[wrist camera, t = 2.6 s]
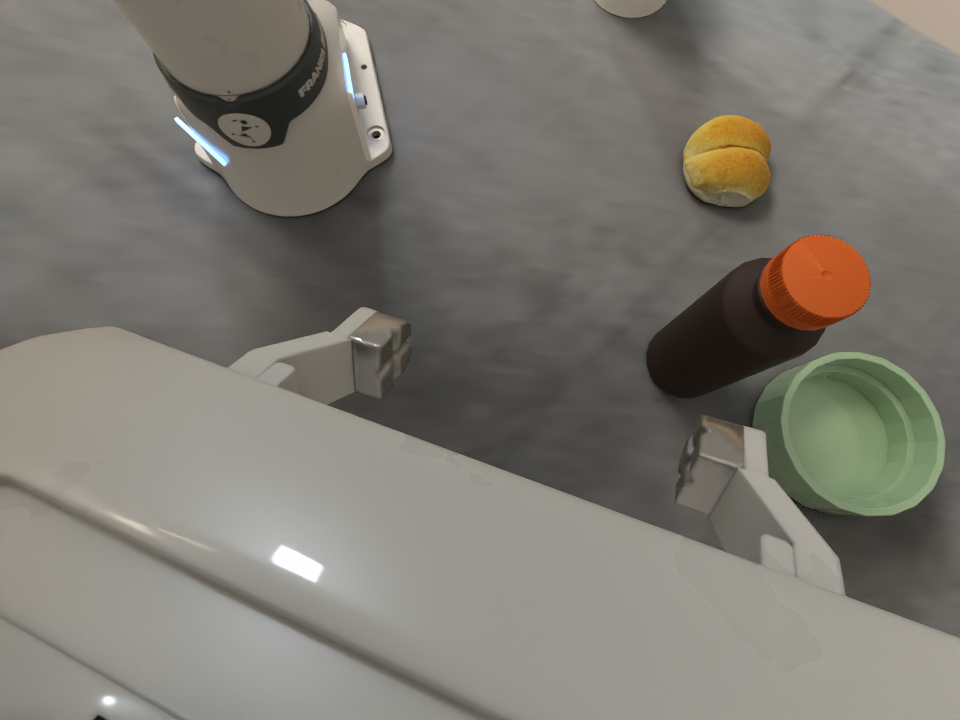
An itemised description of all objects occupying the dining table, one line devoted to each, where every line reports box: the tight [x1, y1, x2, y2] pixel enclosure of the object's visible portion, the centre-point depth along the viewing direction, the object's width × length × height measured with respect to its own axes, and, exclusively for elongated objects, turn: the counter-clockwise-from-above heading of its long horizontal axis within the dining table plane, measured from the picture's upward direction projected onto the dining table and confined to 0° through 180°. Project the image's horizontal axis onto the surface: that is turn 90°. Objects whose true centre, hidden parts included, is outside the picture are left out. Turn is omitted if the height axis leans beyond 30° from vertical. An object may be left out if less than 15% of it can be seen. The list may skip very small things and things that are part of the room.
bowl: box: [752, 352, 946, 516], centre depth 44 cm, size 13×13×5 cm
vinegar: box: [647, 234, 871, 398], centre depth 38 cm, size 7×7×20 cm
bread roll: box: [683, 115, 771, 207], centre depth 51 cm, size 8×9×4 cm
